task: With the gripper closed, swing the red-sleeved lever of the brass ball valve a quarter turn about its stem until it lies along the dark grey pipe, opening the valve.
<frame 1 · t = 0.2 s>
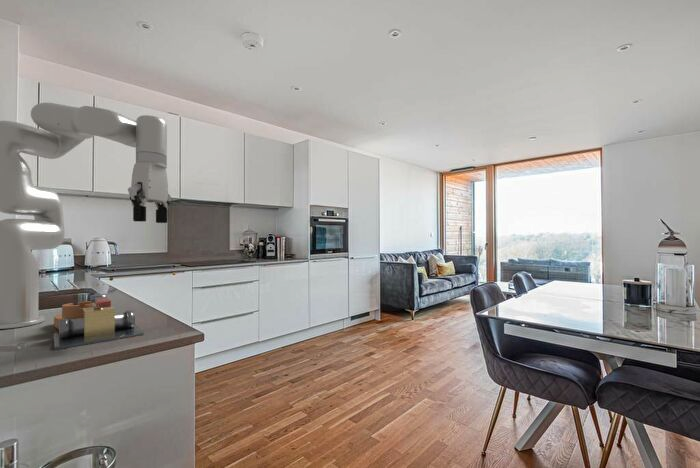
hand: (151, 222, 93), 31 cm above the counter, tool pointing down, fingers open, 9 cm apart
valve: (98, 334, 90), on the counter
lever: (101, 300, 86), point 10 cm above the counter, hinge at 0.0°
bracket: (76, 326, 97), on the counter, touching valve
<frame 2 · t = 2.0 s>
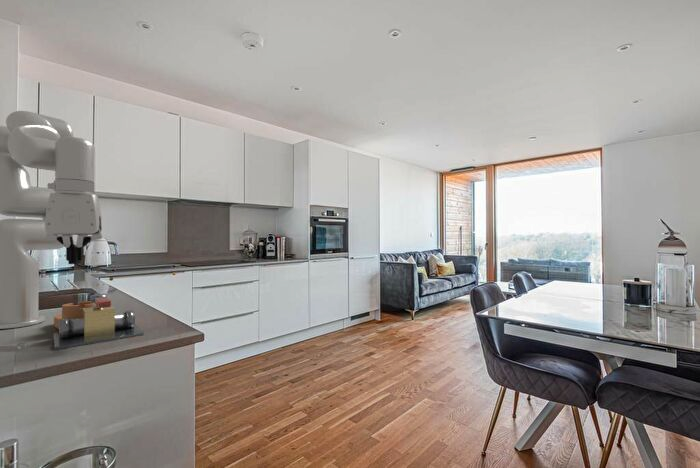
hand: (75, 263, 81), 20 cm above the counter, tool pointing down, fingers closed
nothing on the counter moved.
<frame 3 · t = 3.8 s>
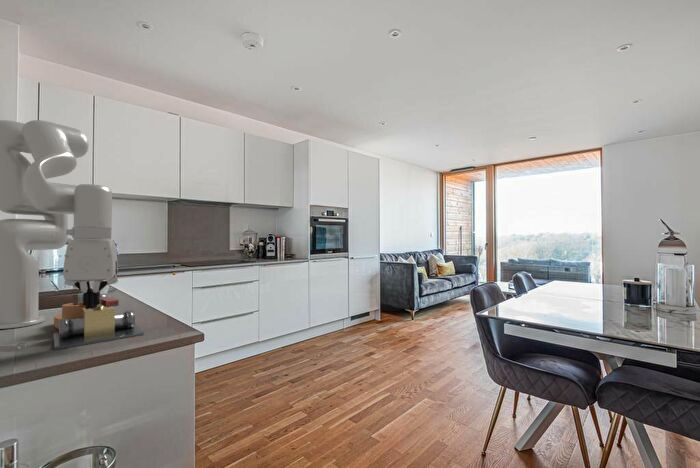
hand: (91, 307, 83), 9 cm above the counter, tool pointing down, fingers closed
lever: (104, 299, 87), point 10 cm above the counter, hinge at 7.9°, touching gripper
everything else where it was.
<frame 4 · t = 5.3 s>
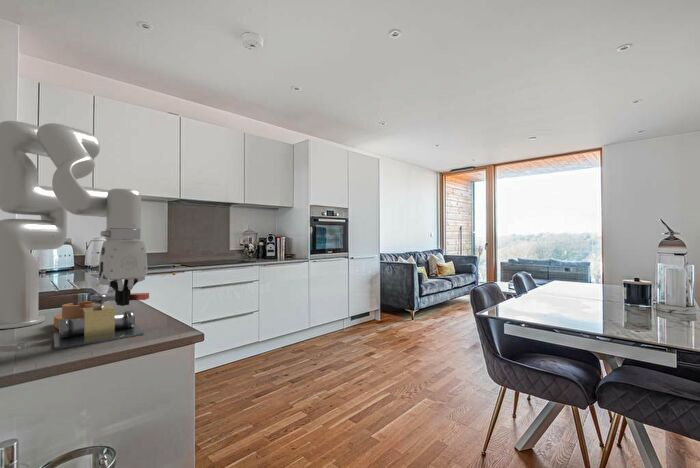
hand: (122, 304, 88), 8 cm above the counter, tool pointing down, fingers closed
lever: (119, 297, 91), point 10 cm above the counter, hinge at 57.5°, touching gripper
everything else where it was.
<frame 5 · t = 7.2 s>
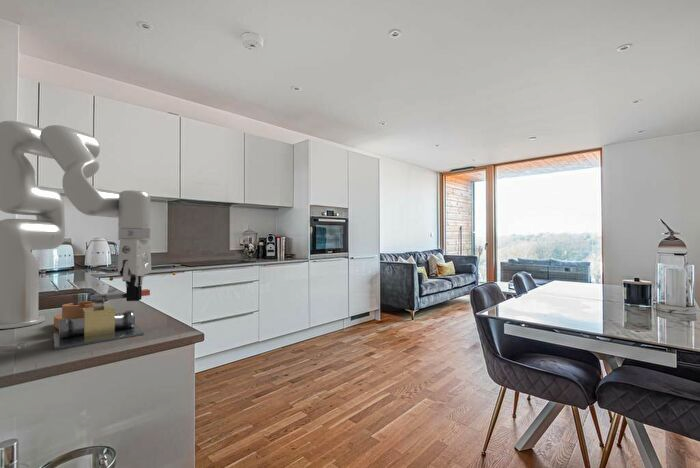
hand: (134, 300, 93), 9 cm above the counter, tool pointing down, fingers closed
lever: (121, 295, 94), point 10 cm above the counter, hinge at 95.5°
everything else where it was.
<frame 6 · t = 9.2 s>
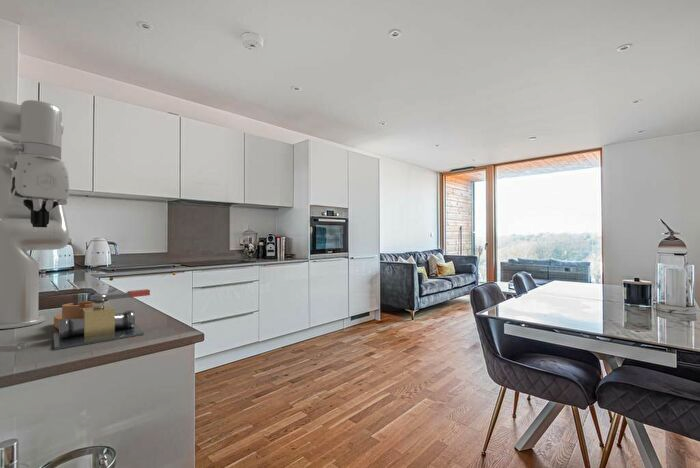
hand: (39, 227, 83), 29 cm above the counter, tool pointing down, fingers closed
nothing on the counter moved.
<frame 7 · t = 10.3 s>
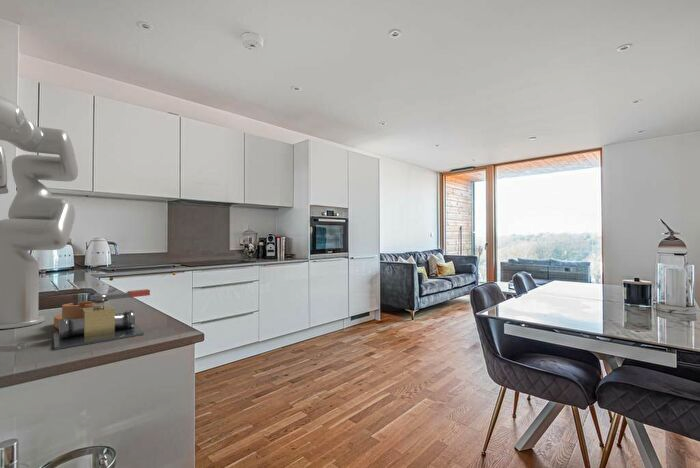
nothing on the counter moved.
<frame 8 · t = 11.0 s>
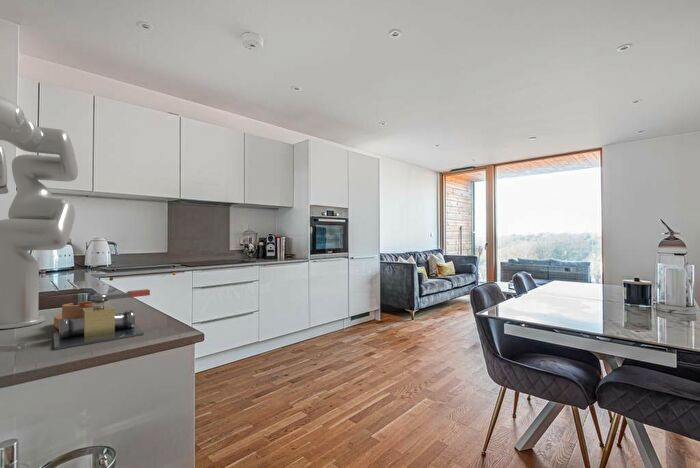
nothing on the counter moved.
at the end: lever at +96° (first picture: +0°) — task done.
